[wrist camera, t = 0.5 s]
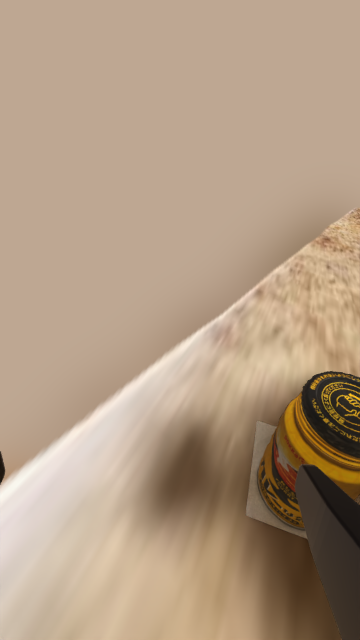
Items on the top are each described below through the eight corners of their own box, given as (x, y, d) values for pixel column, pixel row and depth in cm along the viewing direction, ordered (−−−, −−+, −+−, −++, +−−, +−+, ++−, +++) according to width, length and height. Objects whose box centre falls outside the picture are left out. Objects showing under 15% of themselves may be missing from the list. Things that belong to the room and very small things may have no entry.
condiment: (245, 516, 21) (289, 439, 14) (256, 421, 27) (291, 332, 20) (347, 555, 19) (463, 493, 12) (334, 444, 26) (405, 357, 18)
